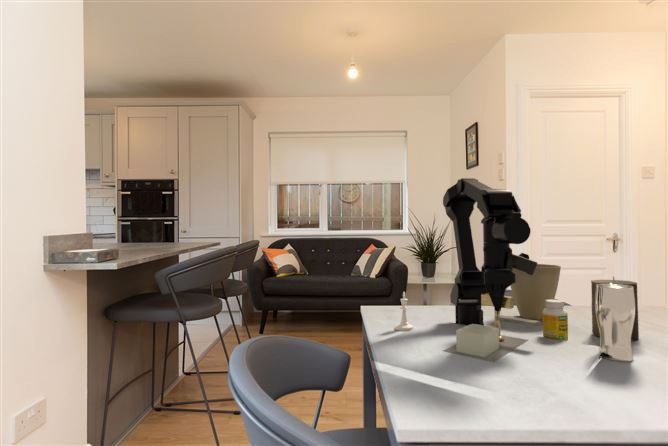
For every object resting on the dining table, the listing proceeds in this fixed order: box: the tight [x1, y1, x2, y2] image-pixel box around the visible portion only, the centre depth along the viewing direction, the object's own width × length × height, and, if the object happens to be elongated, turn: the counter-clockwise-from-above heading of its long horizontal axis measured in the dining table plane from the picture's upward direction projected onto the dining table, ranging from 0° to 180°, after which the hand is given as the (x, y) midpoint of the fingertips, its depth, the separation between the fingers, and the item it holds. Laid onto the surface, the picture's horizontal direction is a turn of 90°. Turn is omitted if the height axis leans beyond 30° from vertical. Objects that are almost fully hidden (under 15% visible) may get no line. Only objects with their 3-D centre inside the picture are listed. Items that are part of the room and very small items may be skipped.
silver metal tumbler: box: [595, 284, 635, 363], centre depth 86 cm, size 7×7×15 cm
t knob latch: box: [481, 293, 540, 341], centre depth 94 cm, size 3×12×10 cm, turn 41°
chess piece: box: [394, 291, 414, 332], centre depth 112 cm, size 5×5×10 cm
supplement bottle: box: [542, 299, 569, 342], centre depth 99 cm, size 5×5×10 cm
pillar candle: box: [590, 276, 640, 342], centre depth 103 cm, size 10×10×15 cm
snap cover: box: [455, 324, 499, 357], centre depth 88 cm, size 6×8×4 cm
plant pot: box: [509, 263, 561, 321], centre depth 125 cm, size 15×15×16 cm
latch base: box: [442, 335, 529, 363], centre depth 91 cm, size 11×21×1 cm, turn 137°
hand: (497, 309), depth 96 cm, fingers open, 4 cm apart
